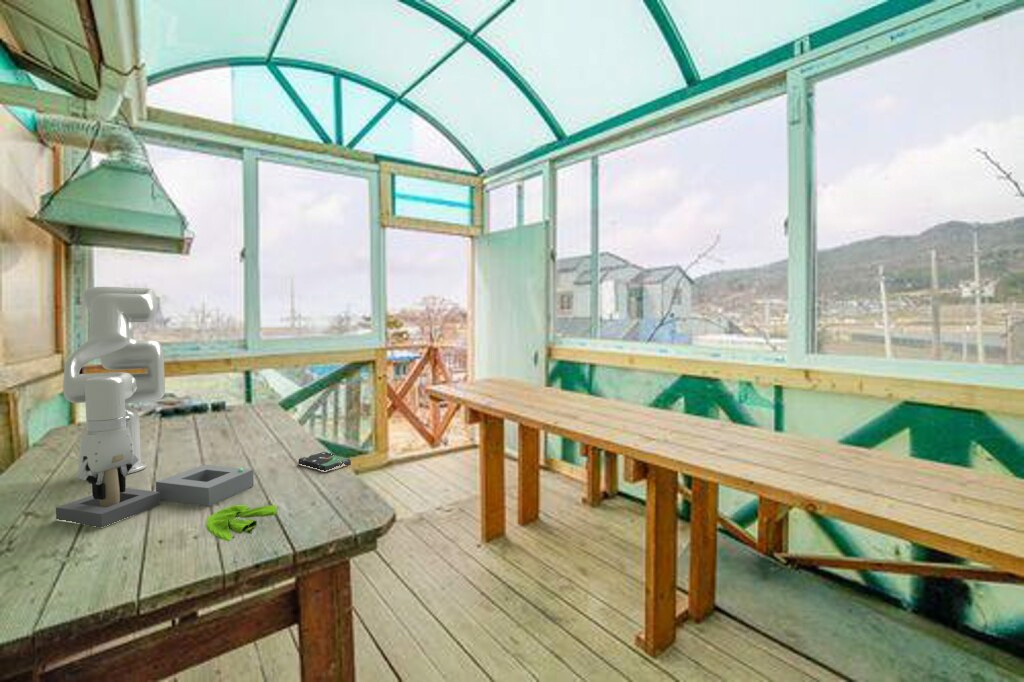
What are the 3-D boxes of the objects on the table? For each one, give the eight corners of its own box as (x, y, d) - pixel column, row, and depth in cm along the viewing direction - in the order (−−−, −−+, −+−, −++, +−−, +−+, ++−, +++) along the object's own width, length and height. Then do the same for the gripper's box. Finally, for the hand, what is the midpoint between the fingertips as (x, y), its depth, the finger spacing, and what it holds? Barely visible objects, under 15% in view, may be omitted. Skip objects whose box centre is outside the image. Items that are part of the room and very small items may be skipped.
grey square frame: (56, 521, 112) (55, 507, 112) (117, 499, 126) (117, 486, 126) (102, 528, 109) (101, 514, 109) (160, 504, 122) (159, 492, 122)
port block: (156, 499, 126) (155, 478, 126) (204, 480, 140) (204, 462, 140) (209, 506, 122) (208, 485, 121) (253, 486, 136) (253, 467, 136)
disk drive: (297, 467, 155) (325, 474, 148) (297, 459, 155) (325, 465, 148) (324, 459, 164) (351, 465, 157) (324, 451, 164) (351, 457, 156)
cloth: (228, 505, 124) (228, 496, 124) (308, 506, 123) (307, 498, 123) (170, 542, 104) (169, 532, 103) (264, 544, 103) (264, 534, 103)
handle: (129, 510, 119) (126, 454, 118) (96, 519, 113) (93, 460, 113) (123, 506, 121) (121, 450, 121) (91, 514, 116) (88, 456, 115)
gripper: (129, 416, 125) (132, 482, 126) (56, 431, 109) (59, 506, 110) (151, 418, 123) (153, 484, 124) (79, 434, 107) (83, 510, 108)
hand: (109, 494), depth 117 cm, fingers closed on handle, 4 cm apart
